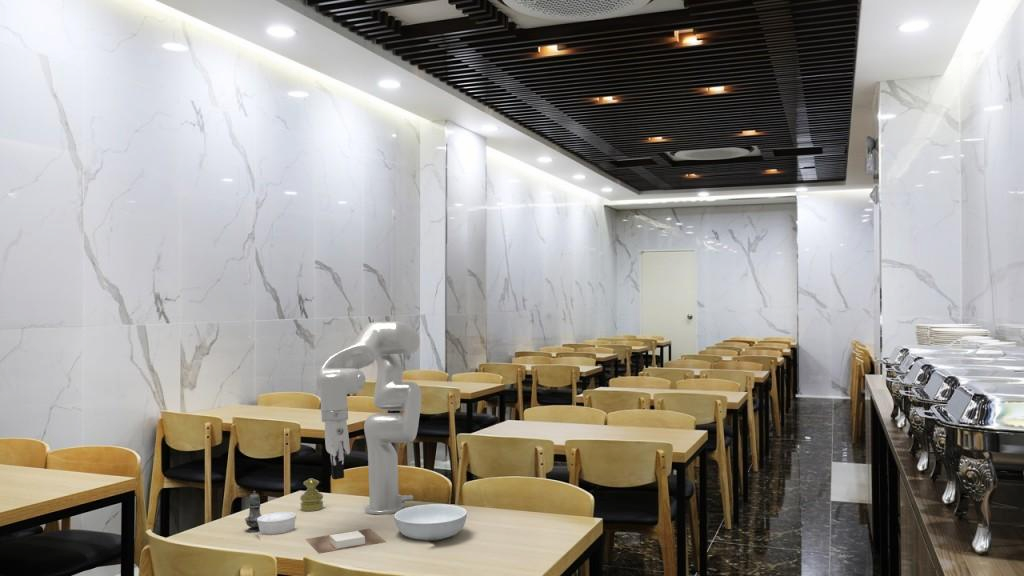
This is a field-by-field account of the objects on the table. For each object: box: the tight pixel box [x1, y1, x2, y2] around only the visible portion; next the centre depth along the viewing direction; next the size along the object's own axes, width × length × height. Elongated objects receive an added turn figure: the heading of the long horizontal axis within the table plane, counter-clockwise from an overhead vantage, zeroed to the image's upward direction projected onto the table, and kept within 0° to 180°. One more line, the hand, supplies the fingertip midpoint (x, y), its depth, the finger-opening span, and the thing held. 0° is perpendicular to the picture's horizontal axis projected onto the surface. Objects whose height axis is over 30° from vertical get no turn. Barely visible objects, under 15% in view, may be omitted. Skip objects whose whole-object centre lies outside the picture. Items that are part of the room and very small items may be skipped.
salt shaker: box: [244, 490, 263, 533], centre depth 247 cm, size 6×6×12 cm
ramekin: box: [257, 511, 297, 535], centre depth 242 cm, size 11×11×5 cm
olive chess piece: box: [299, 478, 324, 512], centre depth 271 cm, size 7×7×10 cm
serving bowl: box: [393, 503, 468, 542], centre depth 234 cm, size 21×21×7 cm
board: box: [305, 528, 388, 555], centre depth 229 cm, size 19×16×1 cm
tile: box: [329, 530, 365, 549], centre depth 225 cm, size 8×2×7 cm
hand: (338, 478), depth 235 cm, fingers closed
